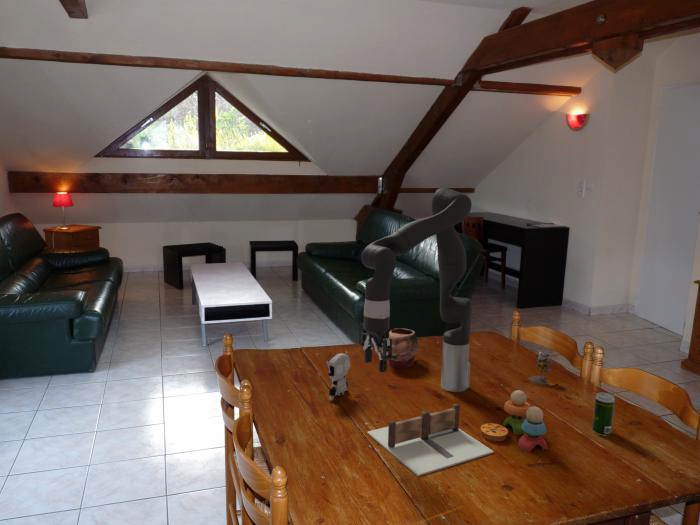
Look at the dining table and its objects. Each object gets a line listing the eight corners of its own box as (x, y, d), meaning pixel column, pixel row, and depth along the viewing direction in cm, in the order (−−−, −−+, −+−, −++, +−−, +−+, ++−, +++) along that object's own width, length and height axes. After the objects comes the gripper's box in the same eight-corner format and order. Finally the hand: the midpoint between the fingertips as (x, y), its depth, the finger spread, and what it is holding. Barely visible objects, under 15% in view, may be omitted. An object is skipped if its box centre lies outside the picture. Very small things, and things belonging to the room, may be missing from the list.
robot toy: (335, 404, 188) (336, 361, 185) (324, 401, 190) (325, 359, 187) (354, 391, 198) (355, 351, 195) (343, 388, 200) (344, 348, 198)
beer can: (615, 434, 170) (619, 397, 168) (602, 438, 168) (606, 400, 166) (600, 427, 175) (604, 390, 173) (587, 430, 173) (591, 393, 170)
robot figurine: (560, 381, 211) (563, 351, 208) (557, 390, 202) (559, 358, 200) (529, 375, 216) (532, 346, 213) (525, 384, 207) (527, 353, 205)
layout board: (436, 415, 181) (436, 413, 181) (493, 452, 159) (493, 450, 158) (367, 433, 169) (367, 431, 168) (417, 476, 146) (418, 474, 146)
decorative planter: (397, 353, 237) (398, 321, 235) (425, 358, 232) (426, 326, 229) (377, 369, 220) (378, 334, 217) (407, 374, 214) (408, 340, 212)
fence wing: (418, 436, 165) (419, 414, 164) (422, 439, 164) (423, 416, 162) (386, 444, 160) (387, 421, 159) (390, 447, 158) (391, 424, 157)
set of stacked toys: (472, 430, 172) (474, 392, 169) (517, 421, 178) (520, 384, 176) (510, 459, 155) (513, 417, 153) (559, 448, 162) (563, 407, 160)
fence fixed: (455, 427, 172) (456, 402, 171) (460, 430, 170) (461, 405, 169) (418, 437, 166) (419, 411, 164) (423, 440, 164) (424, 415, 162)
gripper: (353, 309, 168) (352, 361, 171) (378, 321, 156) (376, 377, 159) (375, 306, 172) (374, 357, 175) (401, 318, 159) (399, 372, 162)
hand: (375, 366), depth 167 cm, fingers open, 8 cm apart
